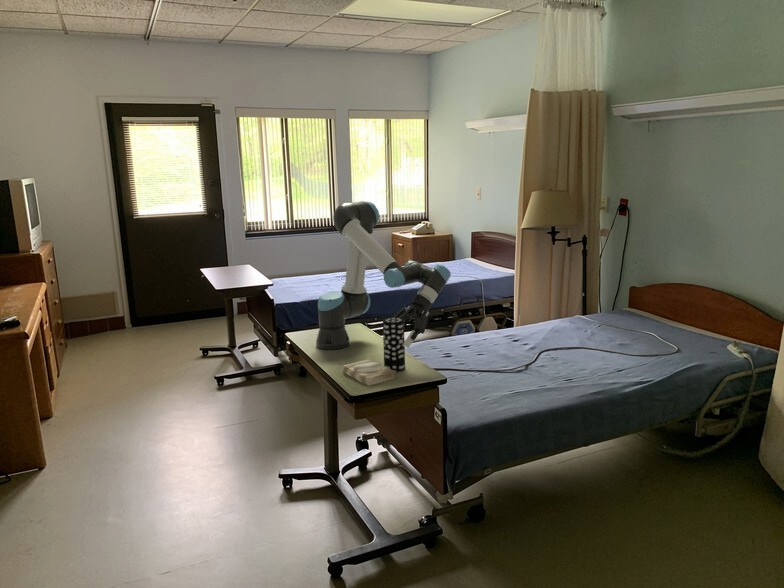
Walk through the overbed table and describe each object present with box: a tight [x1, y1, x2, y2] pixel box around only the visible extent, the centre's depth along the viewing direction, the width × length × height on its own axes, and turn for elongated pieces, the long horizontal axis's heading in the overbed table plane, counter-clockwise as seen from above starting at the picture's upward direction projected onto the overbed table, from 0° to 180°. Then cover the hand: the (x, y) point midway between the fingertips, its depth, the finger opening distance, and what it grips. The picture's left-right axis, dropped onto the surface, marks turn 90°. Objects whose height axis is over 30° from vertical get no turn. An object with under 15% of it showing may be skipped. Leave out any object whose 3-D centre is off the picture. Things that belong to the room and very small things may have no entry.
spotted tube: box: [382, 317, 406, 373], centre depth 233 cm, size 8×8×20 cm
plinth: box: [342, 358, 395, 386], centre depth 228 cm, size 18×12×4 cm, turn 35°
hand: (395, 342), depth 232 cm, fingers open, 13 cm apart
